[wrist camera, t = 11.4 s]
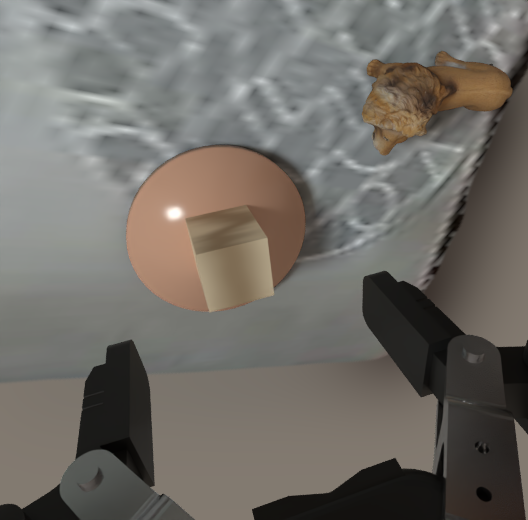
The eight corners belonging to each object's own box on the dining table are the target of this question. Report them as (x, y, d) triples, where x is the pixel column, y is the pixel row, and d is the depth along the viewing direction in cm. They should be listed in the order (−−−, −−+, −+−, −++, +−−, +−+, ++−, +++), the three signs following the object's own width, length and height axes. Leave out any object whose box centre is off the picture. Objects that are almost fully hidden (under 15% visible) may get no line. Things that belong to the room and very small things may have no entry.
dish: (294, 127, 32) (301, 132, 31) (302, 279, 40) (308, 288, 39) (101, 162, 30) (100, 169, 28) (151, 318, 38) (152, 329, 36)
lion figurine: (331, 137, 34) (388, 170, 26) (325, 68, 31) (388, 83, 23) (482, 95, 36) (575, 115, 29) (490, 27, 33) (596, 30, 26)
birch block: (246, 204, 33) (267, 237, 28) (253, 256, 35) (274, 295, 31) (185, 218, 32) (196, 254, 27) (197, 270, 35) (209, 312, 30)
